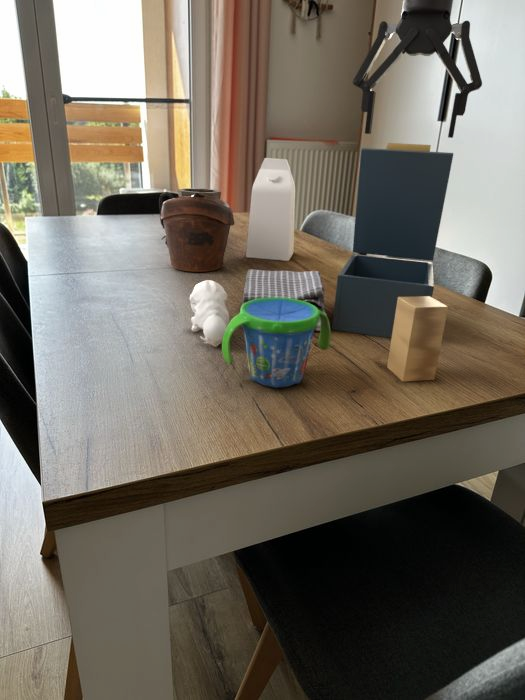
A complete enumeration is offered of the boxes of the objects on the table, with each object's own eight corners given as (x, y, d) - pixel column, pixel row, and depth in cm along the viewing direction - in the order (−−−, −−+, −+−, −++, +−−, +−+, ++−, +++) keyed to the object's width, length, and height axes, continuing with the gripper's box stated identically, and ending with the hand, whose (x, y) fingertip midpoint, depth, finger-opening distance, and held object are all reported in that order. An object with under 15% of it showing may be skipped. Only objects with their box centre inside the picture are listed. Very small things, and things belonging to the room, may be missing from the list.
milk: (293, 252, 152) (300, 159, 142) (288, 260, 142) (295, 160, 132) (253, 249, 154) (257, 157, 144) (246, 257, 143) (249, 157, 134)
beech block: (416, 365, 78) (429, 296, 74) (434, 379, 74) (448, 306, 69) (386, 367, 77) (397, 296, 73) (402, 381, 72) (415, 307, 68)
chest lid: (453, 154, 88) (454, 137, 95) (360, 149, 92) (368, 133, 99) (432, 260, 101) (434, 238, 108) (352, 252, 105) (359, 231, 112)
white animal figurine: (225, 276, 87) (239, 303, 77) (224, 322, 91) (236, 353, 81) (188, 276, 86) (197, 304, 76) (188, 323, 90) (196, 355, 80)
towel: (318, 303, 106) (321, 265, 103) (327, 334, 89) (331, 290, 86) (244, 299, 106) (246, 261, 103) (239, 330, 89) (241, 286, 86)
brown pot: (209, 255, 143) (210, 188, 136) (247, 271, 128) (250, 197, 121) (148, 260, 133) (145, 189, 127) (181, 279, 118) (180, 198, 111)
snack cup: (232, 401, 65) (234, 325, 61) (212, 367, 74) (212, 299, 70) (343, 388, 70) (351, 317, 66) (311, 358, 79) (317, 294, 75)
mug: (222, 236, 171) (223, 189, 165) (218, 244, 159) (218, 193, 153) (164, 233, 171) (162, 186, 166) (154, 240, 159) (153, 190, 153)
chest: (423, 342, 87) (434, 286, 84) (331, 329, 91) (337, 275, 88) (424, 310, 105) (432, 262, 101) (347, 300, 109) (352, 253, 105)
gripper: (345, -19, 79) (331, 131, 87) (521, -24, 72) (489, 138, 80) (352, -6, 85) (338, 132, 93) (514, -10, 79) (484, 139, 87)
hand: (408, 135), depth 87 cm, fingers open, 13 cm apart
